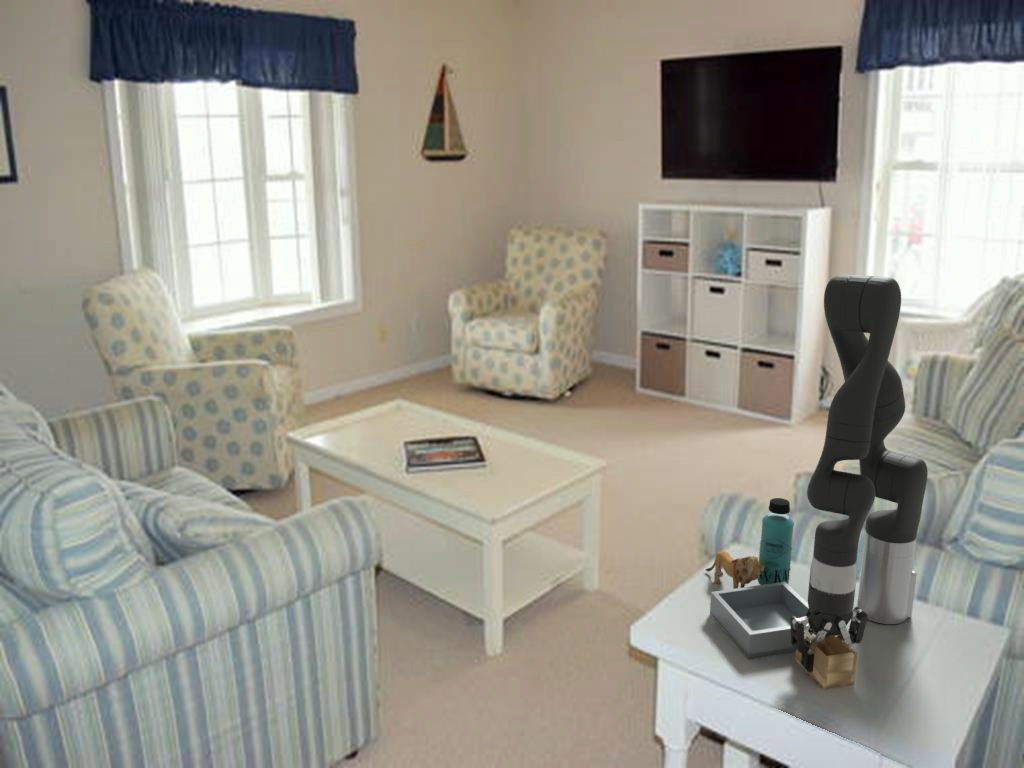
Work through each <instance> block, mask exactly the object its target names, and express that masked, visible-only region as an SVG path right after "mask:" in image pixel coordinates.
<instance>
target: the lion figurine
mask: <svg viewBox="0 0 1024 768" xmlns="http://www.w3.org/2000/svg"><path fill="white" fill-rule="evenodd" d="M764 567H765V566H764V565H762V564H760V563H759V557H757V556H755V555H753V556H751V555H749V556H746V557H741V558H736V559H734V558H733V557H732V556H731V555H730V553H729V552H728V551H726V550H722V549H721V550H719V551H717V552H716V554H715V558H714V562H713V564H712V565H711V566H710V567H709V568H705V571H706V572H708V573H709V572H711V571H712V570H713V569H714V568H715V569H714V575H713V577H714V579H713V583H714V584H716V585H718V584H721V583H720V579H719V576H723V575H724V573H725V574H726V575H727V577H728V576H729V577H730V578H732V585H733V586H732V587H733V588H732V589H736V588H744V587H746V585H748V584H750V583H752V581H756V580H757V579H758V577H759V575H760V574H762V571H764ZM722 569H723V570H724V572H723V571H722ZM739 584H740V587H739Z"/></svg>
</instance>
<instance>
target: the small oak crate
mask: <svg viewBox="0 0 1024 768" xmlns="http://www.w3.org/2000/svg"><path fill="white" fill-rule="evenodd" d="M814 634H815V635H817V633H816V632H814ZM804 637H805V631H804ZM810 643H811V641H810V642H809V644H810ZM813 654H814V663H813V671H812V672H808V671H807V670H806V669H805V668H804V667H803V666H802V665H801V655H802V653H800V652H799V651H798V650H797V649H796V652H795V658H794V659H795V661H796V663H797V664H798V665H799V666H800V667H801V668H802V669H803V670H804V671H805V673H807V674H808V675H809V676H810V678H812V680H813V681H814V682H815V683H816V684H817V685H818V687H820V688H821V689H822V690H826V689H831V688H838V687H844V686H850V685H854V684H855V675H856V669H857V667H856V665H857V660H858V659H857V658H858V657H857V656H858V652H856V651H855V650H854V649H853V648H852V647H851V648H850V647H849V646H848V645H847V644H846V643H844V642H843V640H842V639H841V638H840V637H839V638H838V637H837V635H836V636H833V635H830V636H828V637H824V639H823V641H822V642H821V644H818V645H817V647H816V648H815V651H814V653H813Z"/></svg>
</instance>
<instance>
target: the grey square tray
mask: <svg viewBox="0 0 1024 768" xmlns="http://www.w3.org/2000/svg"><path fill="white" fill-rule="evenodd" d="M709 605H710V608H709V615H710V617H711V618H712V619H713V620H714V621H715V622H716V623H717V625H718V626H719V627H720V628H721V629H722V631H724V633H725V634H726V635H727V636H728V638H729V639H730V640H731V641H732V642H733V643H734V644H735V645H736V647H737V646H738V647H737V648H738V649H739V650H740V651H741V652H742V654H743V653H744V654H745V655H744V654H743V655H744V656H745V657H746V658H747V659H748V660H752V659H757V658H763V657H764V658H765V657H770V656H775V655H777V656H778V655H782V654H788V653H796V648H795V647H794V646H793V645H792V643H791V627H790V618H791V617H792V616H795V617H796V618H801V617H804V616H805V615H806V613H807V611H808V609H809V607H808V601H807V600H805V599H804V598H803V597H802V596H801V595H799V593H798V592H797V591H796V590H795V589H794V588H792V587H791V586H790V585H789V584H787V583H786V582H780V583H772V584H765V585H760V584H758V585H751V586H744V588H740V587H738V588H736V589H733V588H730V589H724V590H715V591H711V592H710V603H709ZM808 625H809V623H808V624H807V625H806V629H807V627H808Z"/></svg>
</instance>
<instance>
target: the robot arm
mask: <svg viewBox="0 0 1024 768" xmlns="http://www.w3.org/2000/svg"><path fill="white" fill-rule="evenodd" d="M824 290H825V291H824V294H823V310H824V316H825V321H826V324H827V327H828V330H829V333H830V336H831V339H832V342H833V344H834V347H835V350H836V353H837V355H838V360H839V362H840V366H841V371H842V374H843V381H844V382H843V383H842V385H841V386H840V387H839V389H838V390H837V391H836V393H835V395H834V397H833V398H832V400H831V402H830V406H829V409H828V414H827V415H828V416H827V421H826V422H827V424H826V431H825V438H824V442H823V448H822V452H821V455H820V458H819V460H818V463H817V465H816V467H815V470H814V471H813V473H812V476H811V477H810V480H809V483H808V485H807V489H806V490H807V491H806V496H807V500H808V502H809V504H810V506H811V507H813V508H814V509H816V510H819V511H822V512H823V511H824V512H829V513H833V514H838V515H845V516H848V518H845V519H841V520H840V519H839V520H826V521H821V522H820V523H819V524H818V525H817V526H816V529H815V532H814V533H815V534H814V543H813V555H812V560H811V564H810V570H809V571H810V572H809V580H808V594H807V603H808V607H809V609H808V611H807V613H806V615H805V616H804V617H801V618H796V617H795V616H792V617H791V618H790V627H791V643H792V645H793V646H794V647H795V648H796V649H797V650H798V651H799V652H800V653H802V655H801V665H802V666H803V667H804V668H805V669H806V670H807V671H808V672H812V671H813V663H814V654H813V653H814V651H815V648H816V647H817V645H818V644H821V642H822V641H823V639H824V637H828V636H830V635H833V636H836V635H837V637H838V638H839V637H840V638H841V639H842V640H843V642H844V643H846V644H847V645H848V646H849V647H850V648H852V647H853V645H854V644H861V643H862V641H863V637H864V633H865V628H866V625H867V620H869V621H871V622H874V623H878V624H883V625H898V624H901V623H903V622H904V621H906V619H908V618H912V617H913V616H912V615H913V607H914V600H915V590H916V583H917V582H916V581H917V575H918V574H917V572H916V571H915V570H914V562H915V553H916V546H917V539H918V538H917V537H918V529H919V525H920V521H921V517H922V510H923V505H924V504H923V503H924V499H925V494H926V493H925V492H926V489H927V482H928V475H929V474H928V466H927V463H926V462H925V460H923V459H922V458H919V457H915V456H910V455H908V454H903V453H899V452H895V451H891V450H889V449H888V448H887V447H886V445H885V439H886V438H887V437H888V435H890V433H891V432H892V431H893V430H894V429H895V428H896V427H897V426H898V425H899V423H900V422H901V420H902V418H903V417H904V415H905V412H906V401H905V394H904V388H903V383H902V382H903V381H902V378H901V376H900V374H899V373H898V371H897V369H896V368H895V367H894V365H893V364H892V363H891V362H890V361H889V360H888V359H889V356H890V352H891V350H892V346H893V342H894V339H895V338H894V337H895V335H896V330H897V327H898V323H899V319H900V313H901V305H902V292H901V290H902V289H901V287H900V284H899V282H897V280H896V279H894V278H893V277H889V276H888V277H887V276H877V275H876V276H874V275H861V274H838V275H835V276H833V277H832V278H831V279H829V281H828V282H827V284H826V286H825V289H824ZM865 334H869V337H867V336H866V335H865ZM842 461H858V463H859V464H858V465H859V473H860V474H857V473H851V472H847V471H846V472H845V471H841V470H835V466H836V464H837V463H838V462H842ZM876 498H878V499H881V500H885V501H888V502H892V503H895V504H897V507H896V509H885V510H884V509H882V510H877V511H874V512H872V513H870V511H871V509H872V507H873V504H874V503H875V502H874V501H875V500H876ZM869 513H870V514H869ZM864 524H865V528H864V529H865V531H864V540H863V550H862V558H861V566H860V567H861V568H860V576H859V588H858V593H857V604H856V606H855V607H854V604H855V596H856V587H857V586H856V585H857V576H858V574H857V573H858V569H857V562H858V561H857V560H858V552H859V551H858V550H859V542H860V536H861V533H862V530H863V526H864ZM849 622H850V623H849ZM808 623H809V625H808V627H807V629H806V625H807V624H808ZM848 624H849V628H848V627H847V625H848ZM804 631H805V637H804ZM814 632H816V633H817V635H815V634H814ZM810 641H811V643H810V644H809V642H810Z"/></svg>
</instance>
